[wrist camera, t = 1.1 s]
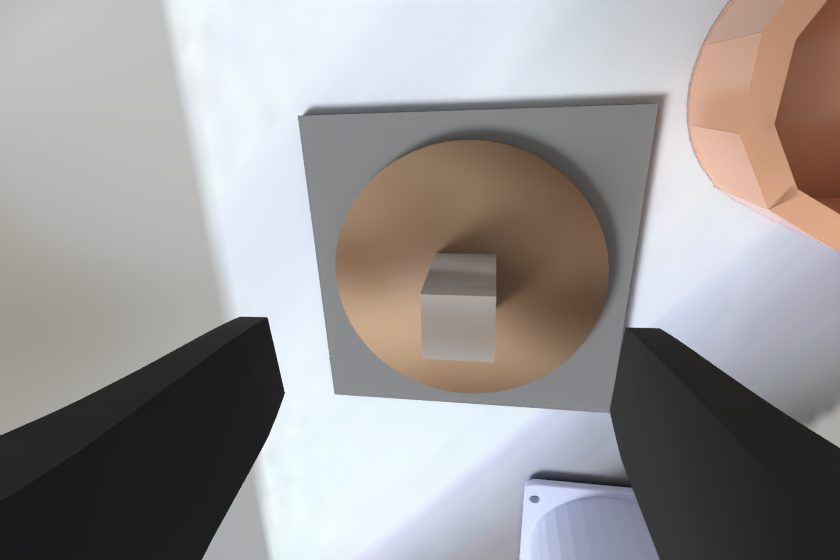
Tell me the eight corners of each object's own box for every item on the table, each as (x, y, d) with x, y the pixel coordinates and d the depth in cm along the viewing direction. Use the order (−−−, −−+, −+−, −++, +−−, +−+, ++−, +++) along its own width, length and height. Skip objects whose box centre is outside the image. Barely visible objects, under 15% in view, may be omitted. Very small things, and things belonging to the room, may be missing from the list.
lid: (589, 393, 20) (614, 473, 16) (352, 378, 22) (317, 446, 17) (623, 134, 16) (669, 150, 11) (325, 142, 17) (272, 158, 13)
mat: (607, 407, 20) (610, 412, 20) (337, 389, 22) (334, 394, 22) (654, 103, 16) (658, 103, 15) (301, 115, 18) (297, 115, 17)
